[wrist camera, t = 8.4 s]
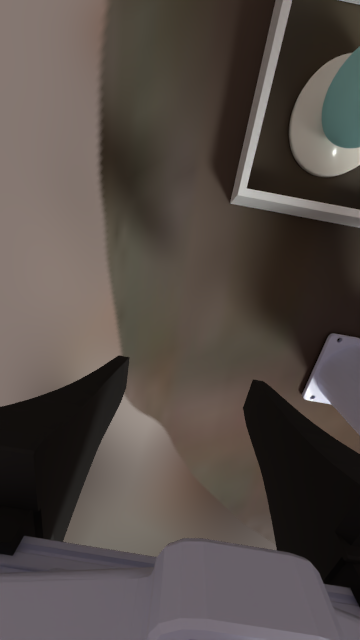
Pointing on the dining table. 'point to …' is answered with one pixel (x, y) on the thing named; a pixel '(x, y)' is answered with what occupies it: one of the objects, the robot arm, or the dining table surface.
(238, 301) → the dining table surface
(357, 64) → the ball
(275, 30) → the white square frame
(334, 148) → the saucer
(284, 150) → the dining table surface
